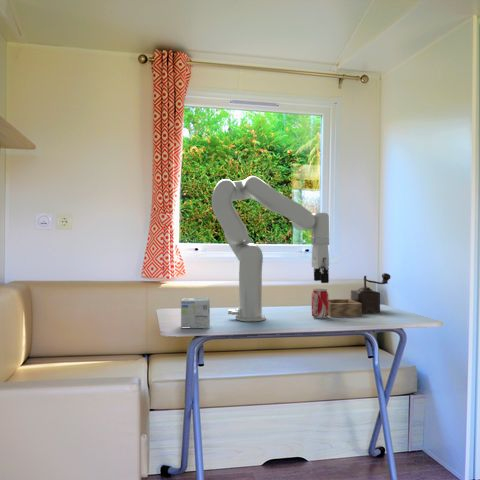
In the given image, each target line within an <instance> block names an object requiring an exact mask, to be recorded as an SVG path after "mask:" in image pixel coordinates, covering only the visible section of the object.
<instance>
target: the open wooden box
mask: <svg viewBox="0 0 480 480" xmlns="http://www.w3.org/2000/svg"><path fill="white" fill-rule="evenodd" d="M340 316H346V317H362V316H363V313H362V303H359V302H356V301H354V300H351V298H336V299H335V298H333V299H332V298H331V299H330V298H328V317H330V318H335V317H336V318H341V317H340Z"/></svg>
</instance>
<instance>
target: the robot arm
mask: <svg viewBox="0 0 480 480" xmlns="http://www.w3.org/2000/svg"><path fill="white" fill-rule="evenodd" d="M248 199H253V200H254V201H255V202H257V203H258V204H260V205H262V206H263V207H264V208H266V209H267V210H268V211H270V212H273V213H275V214H278V215H281V216H283V217H285V218H287V219H289V221H291V226H292V227H293V228H294V229H295V230H297V231H306V230H307V231H309V230H310V233H311V234H310V235H311V246H312V247H311V268H313V281H315V282H320V283H321V284H329V281H330V277H329V275H330V274H329V273H330V271H329V270H330V269H329V268H330V257H329V255H330V253H329V246H330V217H329V213H327V212H314V213H312V212H311V211H310V210H308V209H307V208H305V207H304V206H302V205H301V204H300V203H298V202H296V201H294V199H291V198H289V197H287V195H284V194H282V193H281V192H279V191H278V190H276V189H275V188H273V187H272V186H271V185H269V184H268V183H267V182H265V181H264V180H262V179H261V178H259V177H258V176H255V175H250V176H248V177H247V178H245V179H243V180H236V181H235V180H234V181H232V180H231V179H228V178H225V179H221V180H219V181H218V182H217V184H216V186H215V187H214V189H213V192H212V194H211V208H212V211H213V214H214V216H215V218H216V219H217V221H218V224H219V225H220V227H221V229H222V230H223V234H224V238H225V240H226V242H227V243H228V245H229V247H230V249H231V250H232V252H233V254H234V255H235V257H236V258H237V260H238V262H239V264H238V265H239V268H238V270H239V272H238V287H239V289H238V291H239V292H238V293H239V294H238V298H239V299H238V301H239V302H238V303H239V304H238V305H239V306H237V308H236V309H227V314H228V315H233V316H234V315H235V320H236V321H239V322H240V321H241V322H250V323H251V322H253V323H254V322H261V321H265V320H266V315H264V314H262V313H263V312H262V311H263V303H262V302H263V297H262V296H263V281H262V279H263V277H262V276H263V263H264V262H263V261H264V260H263V259H264V257H263V256H264V255H263V251H262V249H261V248H260V246H259V245H257V244H255V243H254V242H253V240H252V239H251V237H250V236H249V231H248V228H247V226H246V225H245V224H244V221H243V220H242V218H241V217H240V216H239V213H238V212H237V211H236V208H235V207H234V204H233V202H234V201H241V200H242V201H243V200H248Z"/></svg>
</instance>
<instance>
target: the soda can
mask: <svg viewBox="0 0 480 480" xmlns="http://www.w3.org/2000/svg"><path fill="white" fill-rule="evenodd" d="M327 290H328V289H326V288H313V290H312V292H311V316H312V317H313V318H314V319H322V320H323V319H326V318H328V317H329V316H328V299H329V293H328V291H327Z"/></svg>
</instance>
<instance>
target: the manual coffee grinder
mask: <svg viewBox="0 0 480 480" xmlns="http://www.w3.org/2000/svg"><path fill="white" fill-rule="evenodd" d="M381 278H382V281H381V282H379V281H374V280H368V279H367V276H366V275H364V276H363V287H360V288H358V289H355V290H354V289H353V290H350V299H351V300H354V301H356V302H359V303H362V314H380V313H381V292H380V291H377V290H373V288H370V287H368V286H367V282H368V283H374V284H378V285H386V284H389V283H388V282H389V280H390V279H391V275H390V274H389V273H385V272H384V273H382V274H381Z"/></svg>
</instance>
